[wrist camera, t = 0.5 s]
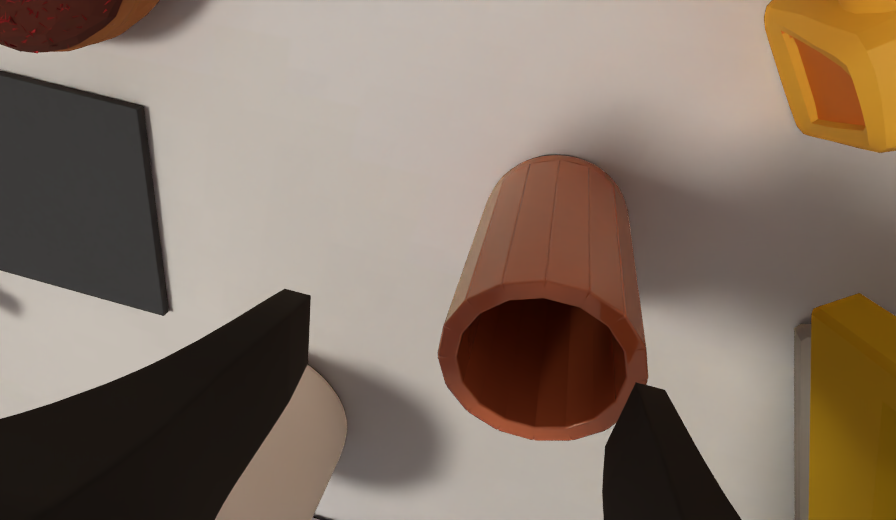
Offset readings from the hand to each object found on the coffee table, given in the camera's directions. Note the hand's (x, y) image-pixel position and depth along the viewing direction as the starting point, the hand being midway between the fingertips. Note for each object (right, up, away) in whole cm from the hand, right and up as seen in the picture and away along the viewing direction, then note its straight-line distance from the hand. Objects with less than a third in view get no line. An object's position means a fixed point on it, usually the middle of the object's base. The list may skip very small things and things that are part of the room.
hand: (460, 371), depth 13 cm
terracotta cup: (+4, +4, +8) cm, 10 cm away
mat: (-17, +5, +12) cm, 22 cm away
